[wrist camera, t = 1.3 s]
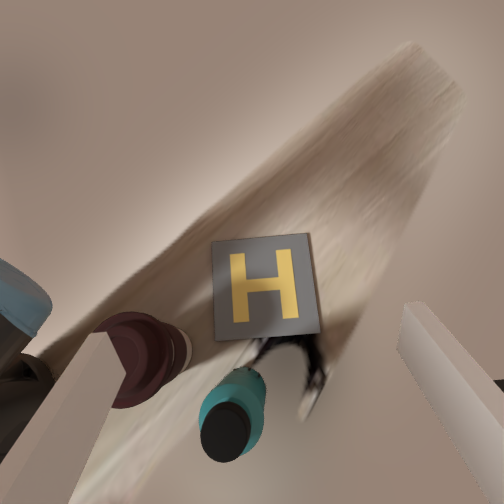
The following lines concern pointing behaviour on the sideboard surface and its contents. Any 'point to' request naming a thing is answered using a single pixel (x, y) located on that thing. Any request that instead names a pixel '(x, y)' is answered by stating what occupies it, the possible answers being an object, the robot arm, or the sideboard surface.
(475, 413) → the robot arm
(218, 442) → the beverage bottle
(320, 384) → the sideboard surface
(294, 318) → the letter board
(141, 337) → the coffee cup
